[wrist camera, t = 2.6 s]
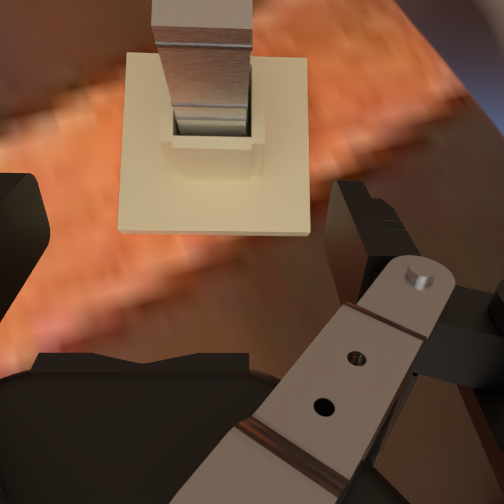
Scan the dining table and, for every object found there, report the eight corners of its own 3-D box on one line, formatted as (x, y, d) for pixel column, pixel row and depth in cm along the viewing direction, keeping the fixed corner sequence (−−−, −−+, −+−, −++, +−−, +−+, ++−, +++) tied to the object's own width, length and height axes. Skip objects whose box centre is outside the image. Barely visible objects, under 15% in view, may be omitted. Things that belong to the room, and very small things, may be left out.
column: (187, 164, 32) (148, 27, 17) (188, 111, 32) (152, -65, 18) (244, 165, 32) (254, 31, 17) (244, 112, 33) (255, -61, 18)
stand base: (122, 234, 33) (90, 208, 25) (131, 63, 35) (104, -6, 27) (306, 236, 33) (328, 211, 26) (303, 68, 35) (322, 2, 28)
